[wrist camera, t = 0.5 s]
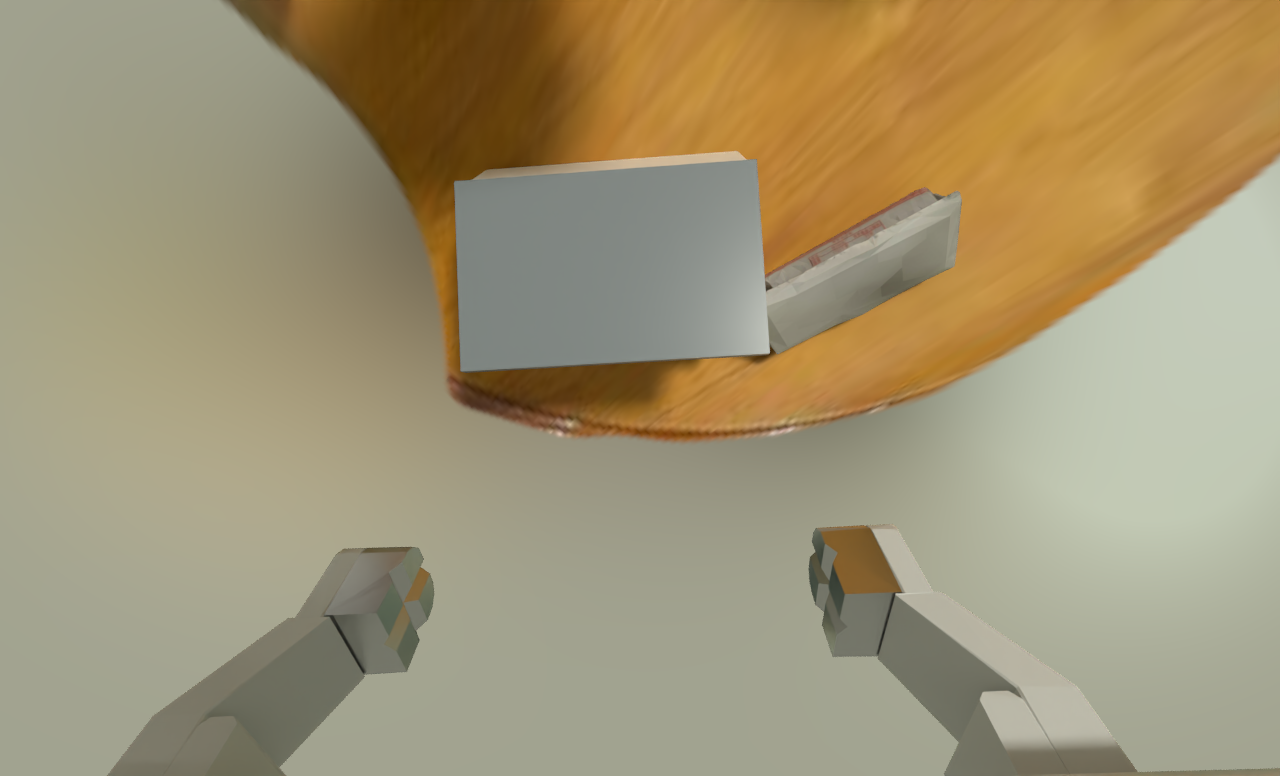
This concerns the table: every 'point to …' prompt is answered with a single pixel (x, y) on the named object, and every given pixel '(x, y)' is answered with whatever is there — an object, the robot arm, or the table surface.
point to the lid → (611, 267)
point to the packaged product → (862, 267)
